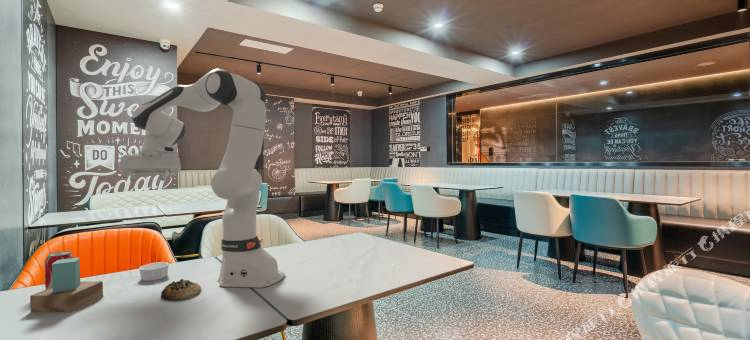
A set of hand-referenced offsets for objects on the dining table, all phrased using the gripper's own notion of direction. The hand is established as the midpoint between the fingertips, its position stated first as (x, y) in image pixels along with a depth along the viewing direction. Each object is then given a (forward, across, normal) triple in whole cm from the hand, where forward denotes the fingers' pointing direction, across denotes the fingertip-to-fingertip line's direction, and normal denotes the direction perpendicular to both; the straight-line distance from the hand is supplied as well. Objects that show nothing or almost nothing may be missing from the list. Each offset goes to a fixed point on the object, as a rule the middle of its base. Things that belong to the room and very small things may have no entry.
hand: (147, 179), depth 128 cm
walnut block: (+43, -14, +6) cm, 46 cm away
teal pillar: (+40, -14, +2) cm, 42 cm away
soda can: (+32, -22, +16) cm, 43 cm away
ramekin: (+30, +3, +19) cm, 36 cm away
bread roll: (+46, +15, +4) cm, 48 cm away
